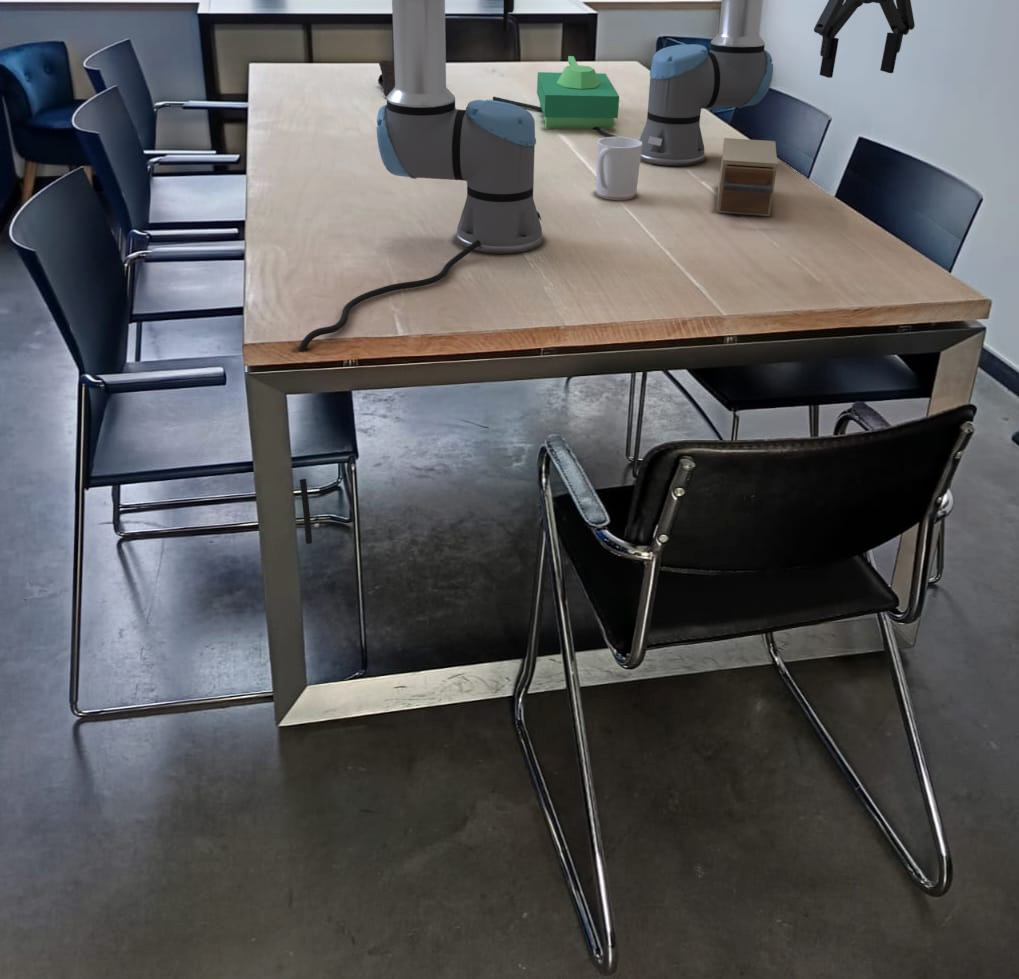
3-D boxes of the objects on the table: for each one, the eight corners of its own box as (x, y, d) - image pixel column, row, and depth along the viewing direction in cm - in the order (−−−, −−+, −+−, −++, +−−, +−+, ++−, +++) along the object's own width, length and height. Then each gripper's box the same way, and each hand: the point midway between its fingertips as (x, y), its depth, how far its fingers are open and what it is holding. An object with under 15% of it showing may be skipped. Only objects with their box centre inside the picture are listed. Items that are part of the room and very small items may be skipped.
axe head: (443, 87, 294) (392, 77, 287) (436, 115, 299) (385, 106, 292) (421, 62, 307) (371, 52, 300) (414, 89, 311) (365, 80, 304)
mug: (610, 185, 226) (613, 134, 221) (646, 193, 222) (651, 142, 216) (579, 196, 219) (581, 144, 214) (615, 205, 214) (619, 152, 209)
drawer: (768, 222, 205) (774, 178, 201) (719, 218, 206) (725, 174, 202) (765, 190, 223) (771, 149, 218) (721, 187, 224) (726, 146, 220)
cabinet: (769, 216, 211) (777, 163, 206) (716, 212, 213) (723, 159, 207) (768, 191, 225) (775, 141, 220) (718, 187, 227) (724, 137, 222)
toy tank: (603, 52, 288) (620, 79, 258) (599, 101, 294) (616, 133, 265) (536, 51, 287) (546, 78, 257) (534, 99, 294) (543, 131, 264)
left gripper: (538, -88, 215) (535, 28, 226) (413, -92, 217) (416, 23, 228) (534, -86, 208) (531, 33, 219) (406, -90, 211) (409, 28, 222)
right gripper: (834, -53, 180) (812, 82, 191) (952, -56, 188) (925, 73, 199) (806, -58, 185) (787, 74, 197) (922, -60, 194) (897, 66, 205)
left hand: (472, 28), depth 224 cm, fingers open, 13 cm apart
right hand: (856, 74), depth 198 cm, fingers open, 13 cm apart
